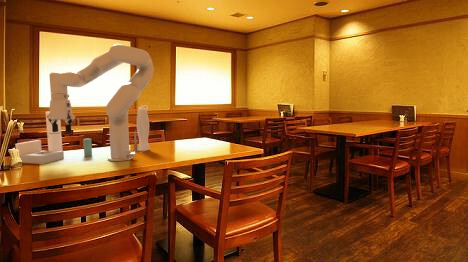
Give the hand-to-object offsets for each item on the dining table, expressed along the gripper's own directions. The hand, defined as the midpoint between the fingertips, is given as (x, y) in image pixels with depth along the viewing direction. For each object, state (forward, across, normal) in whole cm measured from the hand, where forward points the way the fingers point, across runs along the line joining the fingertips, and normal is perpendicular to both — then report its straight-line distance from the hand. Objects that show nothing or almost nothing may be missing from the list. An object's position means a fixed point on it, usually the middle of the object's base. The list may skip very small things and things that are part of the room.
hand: (61, 131), depth 163 cm
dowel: (+16, -3, -15) cm, 22 cm away
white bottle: (+16, -24, -39) cm, 49 cm away
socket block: (+15, +13, 0) cm, 20 cm away
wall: (+16, +21, 0) cm, 26 cm away
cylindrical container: (+16, +21, -18) cm, 32 cm away
